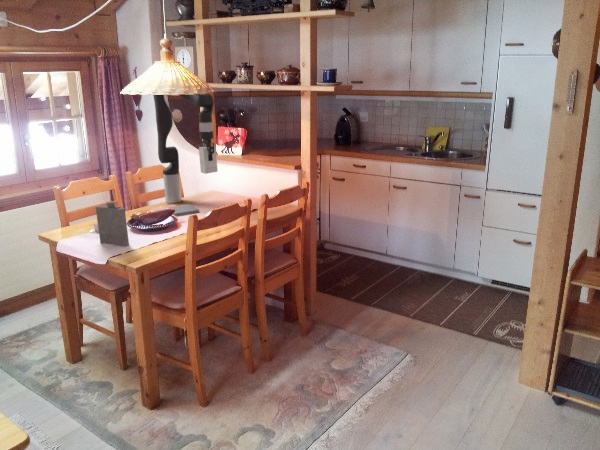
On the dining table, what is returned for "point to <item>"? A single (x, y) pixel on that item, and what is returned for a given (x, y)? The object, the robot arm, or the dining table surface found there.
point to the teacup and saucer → (94, 228)
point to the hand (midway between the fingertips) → (208, 159)
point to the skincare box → (207, 161)
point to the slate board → (184, 209)
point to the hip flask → (112, 224)
